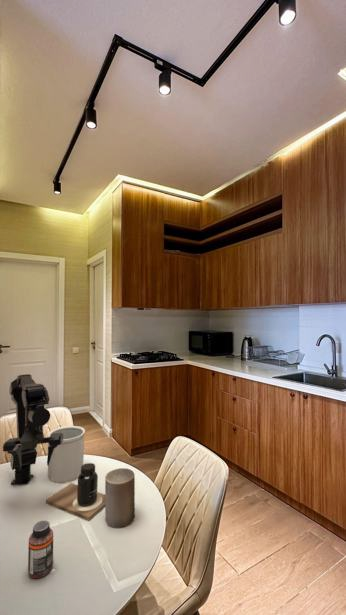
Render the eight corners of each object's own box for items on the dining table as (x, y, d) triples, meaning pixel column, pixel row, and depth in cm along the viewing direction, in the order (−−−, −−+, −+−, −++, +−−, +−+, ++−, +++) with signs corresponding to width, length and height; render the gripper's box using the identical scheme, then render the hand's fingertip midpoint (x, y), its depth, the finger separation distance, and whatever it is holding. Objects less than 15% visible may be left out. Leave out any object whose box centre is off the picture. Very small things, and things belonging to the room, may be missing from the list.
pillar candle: (139, 511, 99) (139, 466, 100) (127, 531, 89) (127, 481, 90) (113, 506, 101) (113, 462, 102) (99, 525, 92) (99, 476, 93)
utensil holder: (89, 477, 120) (89, 434, 121) (50, 488, 112) (52, 442, 113) (78, 462, 132) (79, 423, 133) (43, 471, 124) (44, 430, 125)
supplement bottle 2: (95, 506, 99) (96, 470, 99) (75, 508, 98) (75, 471, 99) (98, 494, 106) (99, 461, 106) (79, 495, 105) (79, 462, 105)
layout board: (45, 503, 103) (45, 499, 103) (71, 486, 113) (71, 482, 114) (88, 521, 94) (88, 516, 94) (112, 500, 105) (112, 496, 105)
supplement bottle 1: (33, 560, 78) (34, 517, 79) (55, 559, 79) (56, 516, 79) (23, 580, 72) (24, 533, 73) (48, 579, 73) (49, 532, 73)
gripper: (-4, 430, 95) (-5, 481, 93) (57, 423, 98) (57, 472, 96) (9, 422, 106) (8, 467, 103) (63, 416, 109) (63, 460, 107)
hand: (34, 467), depth 102 cm, fingers open, 9 cm apart
